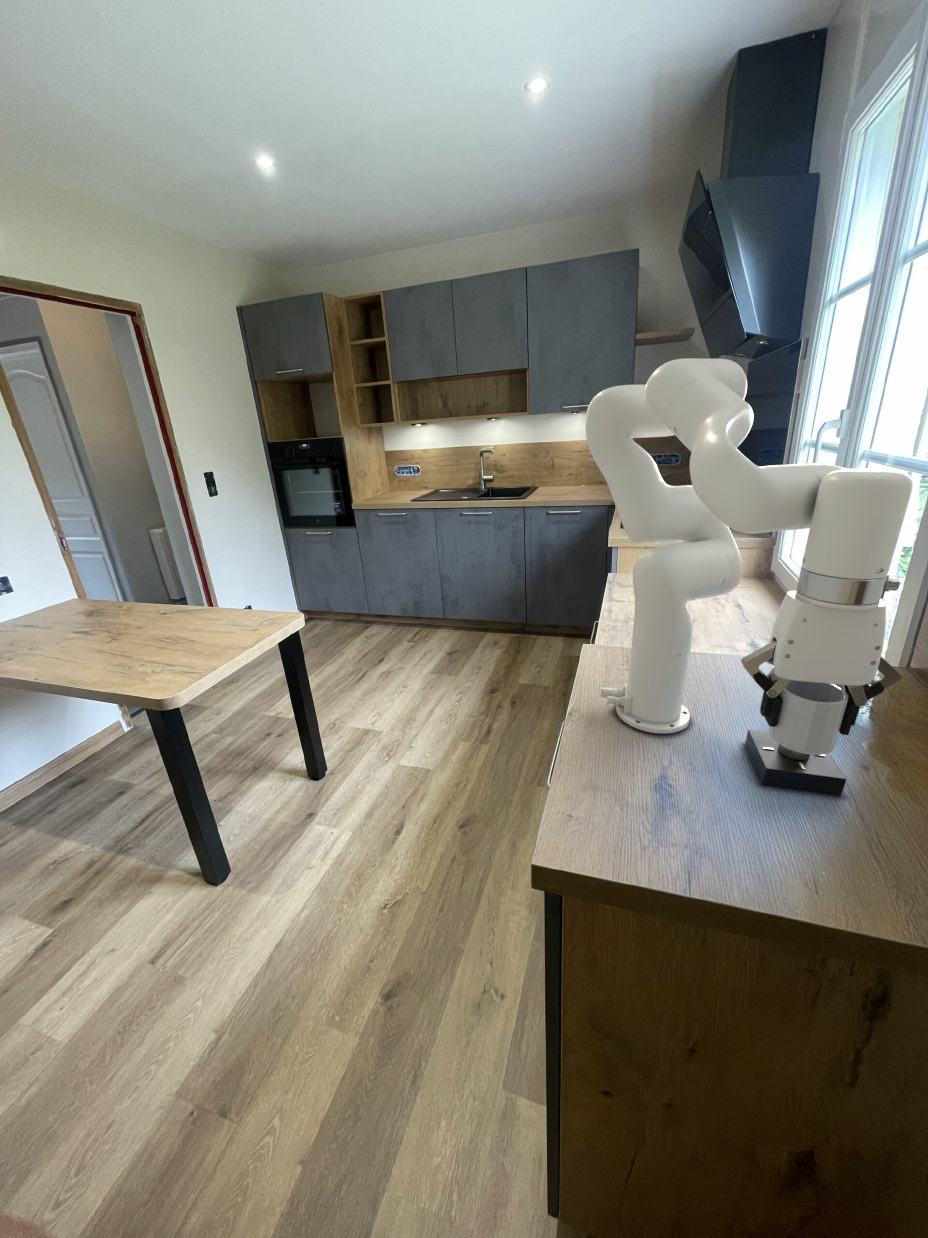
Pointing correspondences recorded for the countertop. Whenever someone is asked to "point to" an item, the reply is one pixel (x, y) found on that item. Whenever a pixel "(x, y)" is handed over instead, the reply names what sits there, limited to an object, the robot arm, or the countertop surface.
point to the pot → (810, 717)
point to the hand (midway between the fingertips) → (803, 723)
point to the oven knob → (792, 753)
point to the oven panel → (793, 767)
